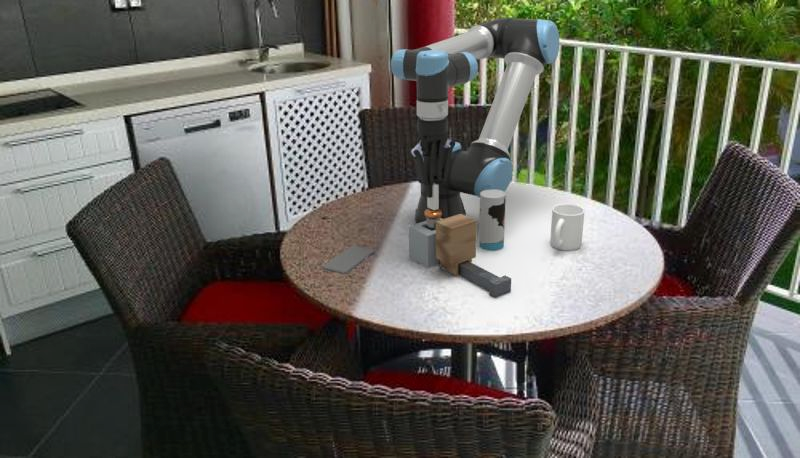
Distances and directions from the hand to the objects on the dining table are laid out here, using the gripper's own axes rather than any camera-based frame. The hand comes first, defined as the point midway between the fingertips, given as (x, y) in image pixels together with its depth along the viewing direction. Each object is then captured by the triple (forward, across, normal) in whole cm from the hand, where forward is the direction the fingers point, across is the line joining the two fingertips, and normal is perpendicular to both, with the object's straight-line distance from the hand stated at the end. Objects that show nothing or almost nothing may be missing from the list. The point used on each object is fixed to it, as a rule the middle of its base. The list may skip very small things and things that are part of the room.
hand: (432, 207), depth 173 cm
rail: (+14, 0, -15) cm, 21 cm away
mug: (+14, +31, -17) cm, 38 cm away
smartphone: (+15, -18, +13) cm, 27 cm away
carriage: (+14, 0, -9) cm, 17 cm away
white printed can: (+14, +17, -4) cm, 23 cm away
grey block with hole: (+14, 0, 0) cm, 14 cm away
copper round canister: (+8, 0, 0) cm, 8 cm away
